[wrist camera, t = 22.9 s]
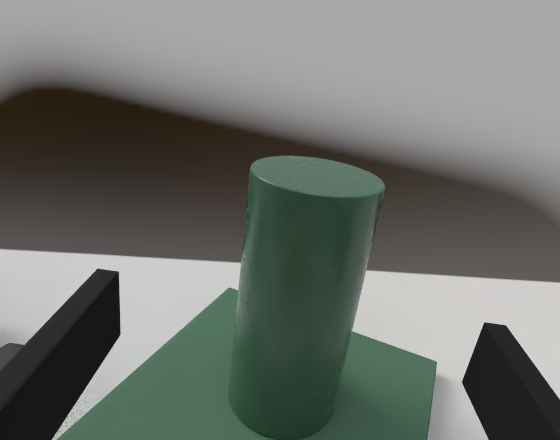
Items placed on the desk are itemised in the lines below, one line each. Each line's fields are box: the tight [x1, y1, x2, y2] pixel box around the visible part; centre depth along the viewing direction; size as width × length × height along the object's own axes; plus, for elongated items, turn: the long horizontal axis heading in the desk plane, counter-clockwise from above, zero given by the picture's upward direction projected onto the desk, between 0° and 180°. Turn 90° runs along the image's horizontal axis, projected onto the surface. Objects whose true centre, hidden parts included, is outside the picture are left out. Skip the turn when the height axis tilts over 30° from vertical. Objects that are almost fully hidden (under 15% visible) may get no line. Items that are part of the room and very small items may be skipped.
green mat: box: [57, 288, 437, 440], centre depth 24 cm, size 16×16×1 cm
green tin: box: [228, 156, 385, 440], centre depth 21 cm, size 6×6×13 cm
